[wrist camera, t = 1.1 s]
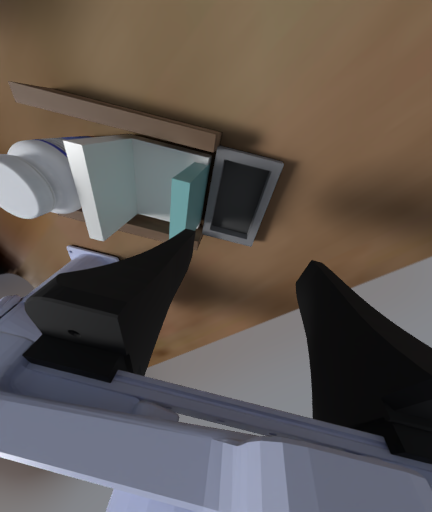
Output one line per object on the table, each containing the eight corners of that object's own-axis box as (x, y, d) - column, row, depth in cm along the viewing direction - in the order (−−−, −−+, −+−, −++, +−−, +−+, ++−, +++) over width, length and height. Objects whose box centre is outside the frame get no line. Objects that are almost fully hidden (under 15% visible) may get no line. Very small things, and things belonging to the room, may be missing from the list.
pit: (251, 240, 22) (251, 246, 21) (204, 228, 22) (201, 234, 21) (281, 161, 17) (284, 164, 16) (219, 145, 17) (217, 146, 16)
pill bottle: (130, 195, 21) (61, 237, 13) (85, 183, 21) (-10, 218, 13) (126, 143, 18) (32, 159, 10) (73, 128, 18) (-62, 132, 10)
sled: (201, 221, 21) (181, 261, 15) (135, 205, 21) (90, 238, 15) (212, 154, 17) (191, 173, 11) (129, 133, 17) (62, 140, 11)
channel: (203, 234, 23) (196, 250, 20) (81, 203, 23) (58, 215, 20) (221, 132, 16) (216, 134, 13) (49, 88, 16) (7, 81, 13)
